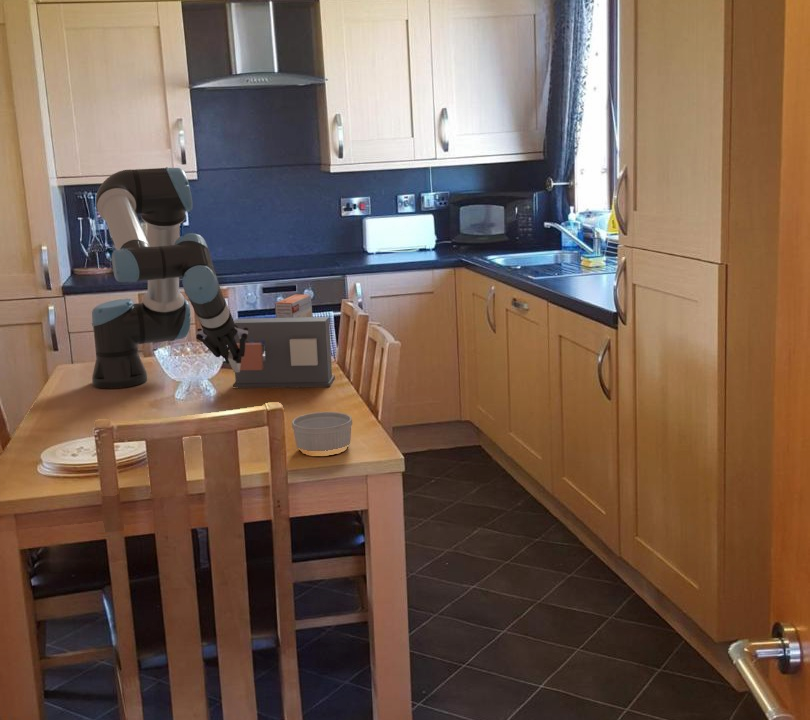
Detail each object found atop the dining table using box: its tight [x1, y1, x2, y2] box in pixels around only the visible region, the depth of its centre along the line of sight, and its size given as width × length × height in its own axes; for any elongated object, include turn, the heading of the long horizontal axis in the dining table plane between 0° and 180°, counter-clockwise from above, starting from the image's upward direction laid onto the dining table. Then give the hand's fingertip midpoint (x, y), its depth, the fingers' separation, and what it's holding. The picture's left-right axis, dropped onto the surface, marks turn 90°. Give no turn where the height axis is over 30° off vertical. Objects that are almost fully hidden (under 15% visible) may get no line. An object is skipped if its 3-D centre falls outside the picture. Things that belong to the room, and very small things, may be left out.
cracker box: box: [274, 293, 313, 318], centre depth 295 cm, size 14×6×21 cm, turn 162°
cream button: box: [290, 338, 318, 366], centre depth 276 cm, size 10×7×7 cm, turn 175°
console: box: [232, 316, 336, 389], centre depth 278 cm, size 9×27×18 cm, turn 85°
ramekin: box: [291, 411, 353, 451], centre depth 220 cm, size 13×13×7 cm
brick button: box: [237, 341, 265, 370], centre depth 273 cm, size 10×7×7 cm, turn 175°
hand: (237, 367), depth 257 cm, fingers closed
